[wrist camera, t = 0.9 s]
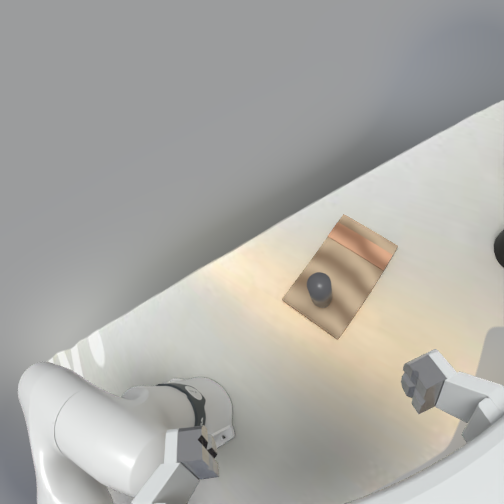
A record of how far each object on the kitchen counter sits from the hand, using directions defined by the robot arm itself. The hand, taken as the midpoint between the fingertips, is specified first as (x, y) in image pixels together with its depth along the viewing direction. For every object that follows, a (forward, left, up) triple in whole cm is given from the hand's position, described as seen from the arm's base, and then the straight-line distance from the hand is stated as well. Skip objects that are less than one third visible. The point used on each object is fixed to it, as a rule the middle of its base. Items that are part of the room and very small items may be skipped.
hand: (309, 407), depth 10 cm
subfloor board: (+18, +10, -48) cm, 53 cm away
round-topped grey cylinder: (+11, +10, -47) cm, 49 cm away
